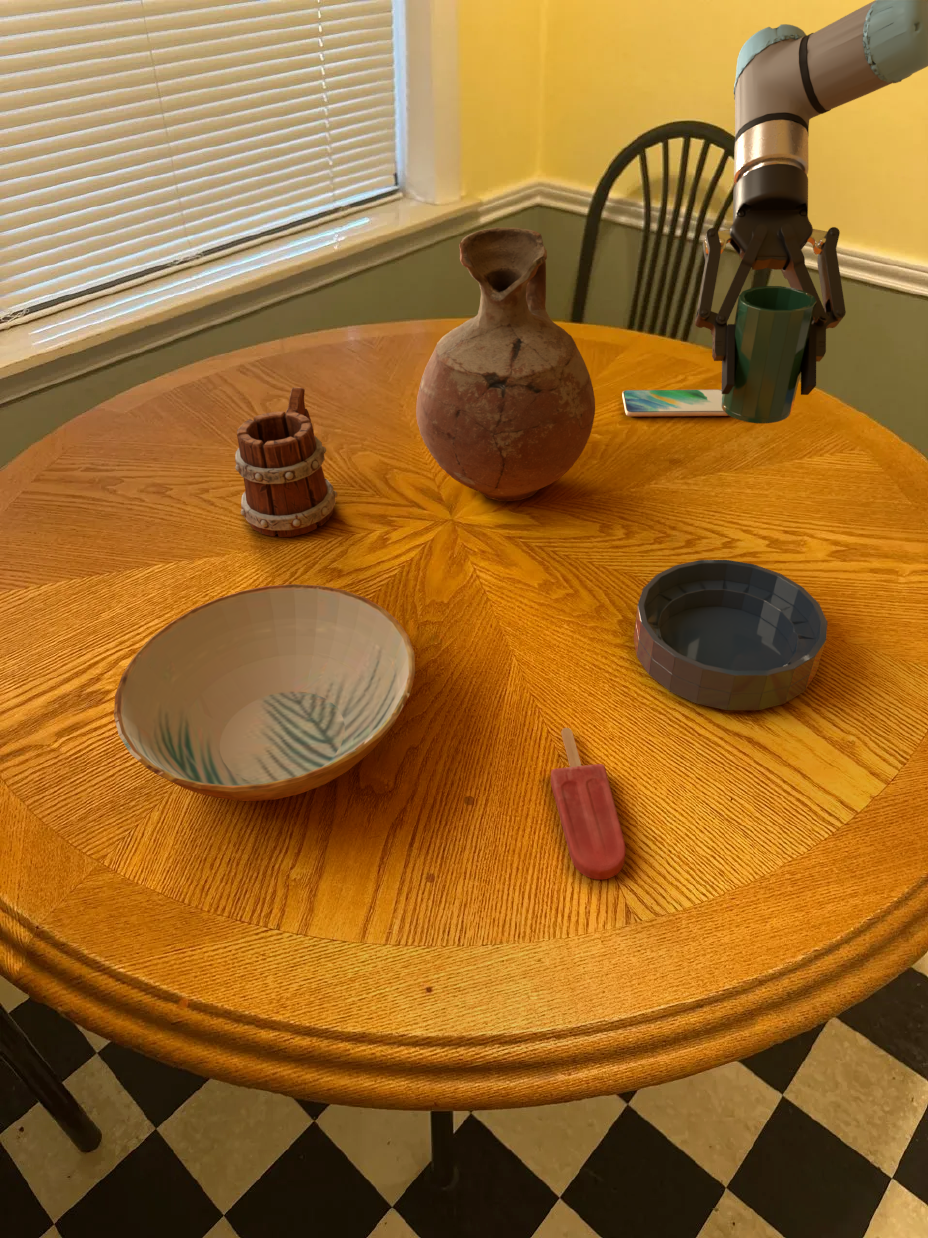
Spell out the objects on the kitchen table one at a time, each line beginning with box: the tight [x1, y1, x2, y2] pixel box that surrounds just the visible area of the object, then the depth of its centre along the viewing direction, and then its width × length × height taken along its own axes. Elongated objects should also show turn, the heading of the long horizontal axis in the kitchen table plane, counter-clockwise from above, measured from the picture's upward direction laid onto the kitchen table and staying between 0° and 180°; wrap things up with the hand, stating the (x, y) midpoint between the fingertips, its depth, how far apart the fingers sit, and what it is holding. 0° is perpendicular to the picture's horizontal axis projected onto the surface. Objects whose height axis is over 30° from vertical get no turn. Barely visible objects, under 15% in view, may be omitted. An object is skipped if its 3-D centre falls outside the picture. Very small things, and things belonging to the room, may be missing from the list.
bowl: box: [113, 583, 416, 802], centre depth 75 cm, size 25×25×8 cm
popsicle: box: [550, 727, 627, 880], centre depth 71 cm, size 4×2×15 cm
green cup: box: [721, 285, 817, 424], centre depth 91 cm, size 7×7×12 cm
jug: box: [415, 226, 596, 502], centre depth 102 cm, size 22×22×30 cm
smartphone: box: [621, 388, 729, 417], centre depth 125 cm, size 7×1×15 cm
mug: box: [234, 387, 338, 538], centre depth 104 cm, size 12×14×15 cm
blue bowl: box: [633, 559, 828, 711], centre depth 83 cm, size 17×17×5 cm
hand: (767, 389), depth 90 cm, fingers closed on green cup, 7 cm apart
